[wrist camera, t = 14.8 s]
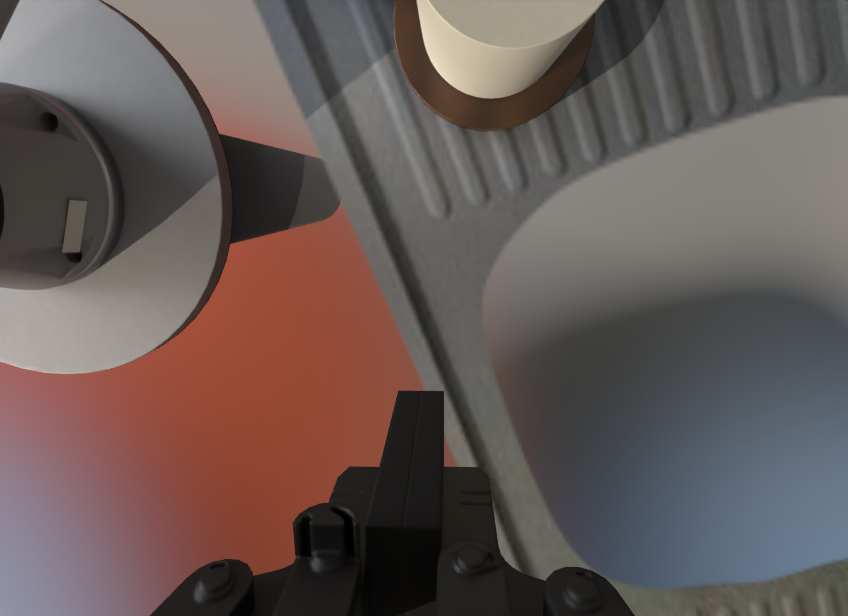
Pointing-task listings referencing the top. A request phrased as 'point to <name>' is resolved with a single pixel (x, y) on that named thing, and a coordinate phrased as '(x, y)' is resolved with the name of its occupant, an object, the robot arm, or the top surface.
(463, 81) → the paper towel roll
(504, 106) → the towel holder
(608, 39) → the top surface
